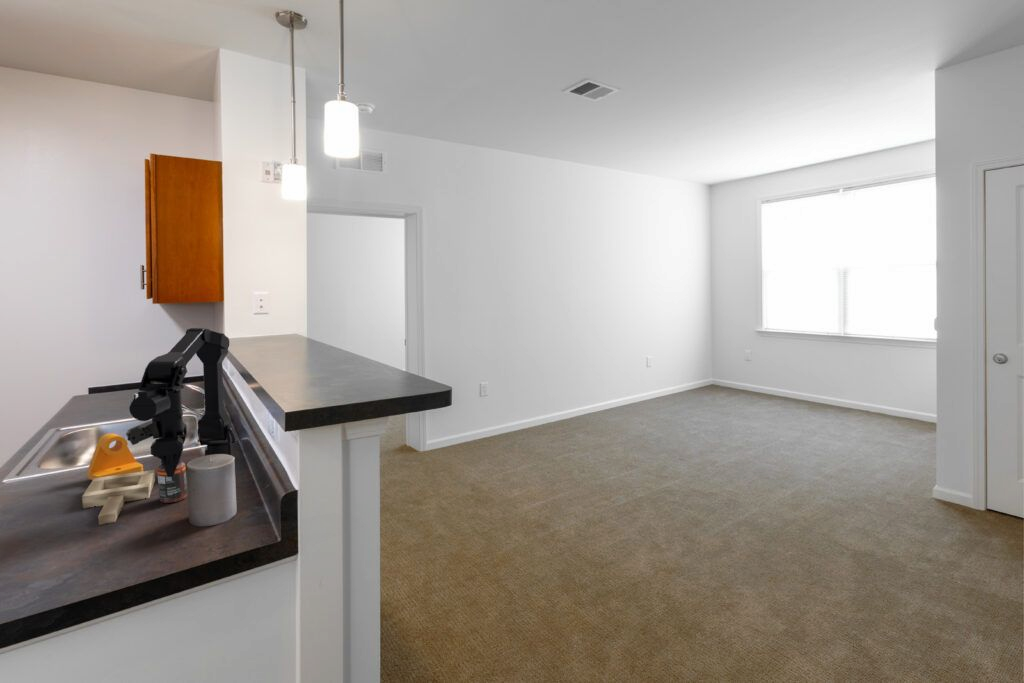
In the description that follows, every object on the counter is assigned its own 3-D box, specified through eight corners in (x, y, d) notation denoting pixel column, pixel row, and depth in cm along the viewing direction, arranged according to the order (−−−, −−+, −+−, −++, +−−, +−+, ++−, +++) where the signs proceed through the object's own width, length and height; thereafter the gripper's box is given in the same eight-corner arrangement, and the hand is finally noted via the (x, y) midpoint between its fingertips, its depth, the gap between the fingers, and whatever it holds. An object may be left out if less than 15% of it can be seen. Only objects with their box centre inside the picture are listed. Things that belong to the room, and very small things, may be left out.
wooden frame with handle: (155, 480, 139) (154, 469, 138) (142, 517, 117) (141, 504, 117) (95, 489, 132) (94, 478, 132) (70, 529, 111) (68, 516, 110)
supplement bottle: (182, 492, 131) (180, 450, 130) (191, 498, 128) (188, 455, 126) (156, 499, 127) (153, 456, 126) (164, 506, 123) (161, 461, 122)
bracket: (98, 486, 134) (94, 443, 133) (88, 480, 138) (84, 438, 137) (144, 474, 143) (141, 433, 142) (134, 469, 147) (131, 429, 146)
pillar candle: (184, 516, 118) (180, 454, 116) (230, 503, 125) (227, 445, 123) (195, 531, 111) (191, 466, 109) (243, 517, 118) (240, 456, 116)
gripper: (133, 405, 129) (138, 463, 131) (121, 423, 113) (126, 490, 115) (185, 400, 134) (188, 457, 136) (180, 417, 118) (184, 481, 120)
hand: (172, 470), depth 127 cm, fingers open, 9 cm apart
